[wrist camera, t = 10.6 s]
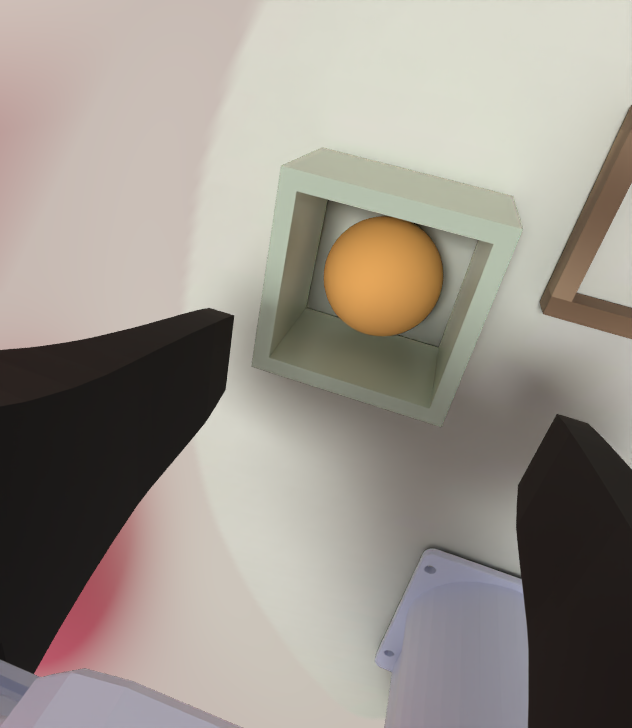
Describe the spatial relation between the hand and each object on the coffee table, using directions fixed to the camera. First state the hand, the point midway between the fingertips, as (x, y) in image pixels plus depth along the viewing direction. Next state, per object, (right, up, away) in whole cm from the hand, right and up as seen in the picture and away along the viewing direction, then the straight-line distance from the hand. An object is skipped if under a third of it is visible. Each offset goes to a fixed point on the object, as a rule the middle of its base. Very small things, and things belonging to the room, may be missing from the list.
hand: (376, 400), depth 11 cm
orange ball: (+1, +3, +4) cm, 6 cm away
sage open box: (+1, +4, +6) cm, 7 cm away
